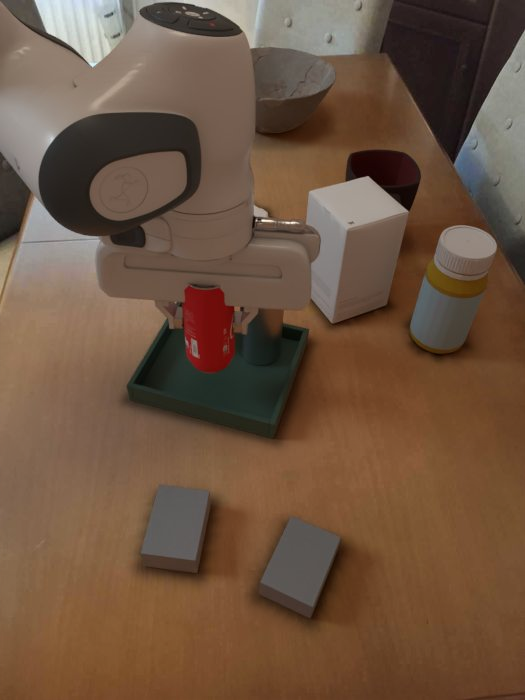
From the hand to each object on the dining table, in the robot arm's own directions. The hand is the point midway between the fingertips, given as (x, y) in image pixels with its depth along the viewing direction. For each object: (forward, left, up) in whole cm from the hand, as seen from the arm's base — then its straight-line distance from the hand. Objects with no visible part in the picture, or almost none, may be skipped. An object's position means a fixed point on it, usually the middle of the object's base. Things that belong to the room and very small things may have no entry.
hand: (208, 327), depth 62 cm
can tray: (0, +4, -11) cm, 11 cm away
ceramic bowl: (-12, +66, -11) cm, 68 cm away
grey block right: (+15, -17, -11) cm, 25 cm away
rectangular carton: (+11, +22, -11) cm, 26 cm away
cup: (+13, +34, -11) cm, 38 cm away
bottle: (+24, +18, -11) cm, 32 cm away
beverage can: (0, 0, -5) cm, 5 cm away
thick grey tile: (+3, -17, -11) cm, 21 cm away
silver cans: (0, +8, -10) cm, 12 cm away
